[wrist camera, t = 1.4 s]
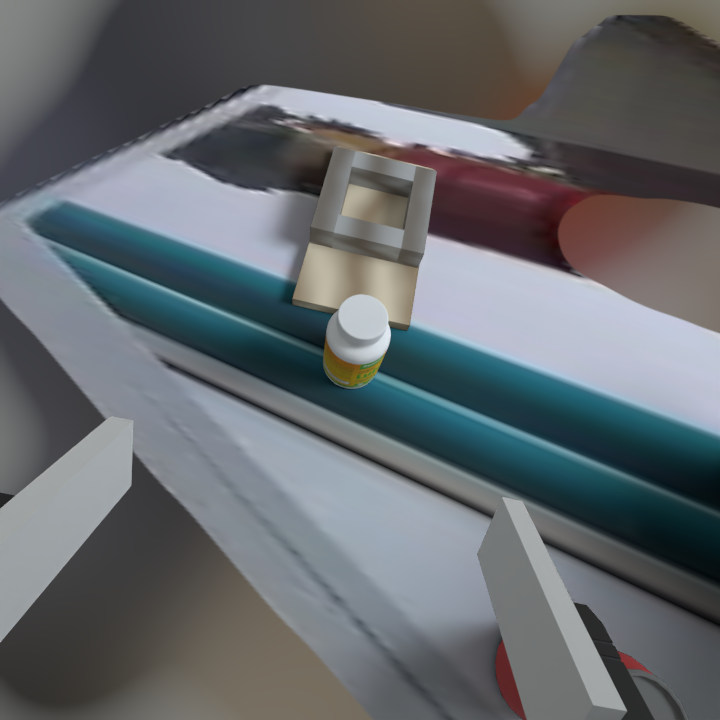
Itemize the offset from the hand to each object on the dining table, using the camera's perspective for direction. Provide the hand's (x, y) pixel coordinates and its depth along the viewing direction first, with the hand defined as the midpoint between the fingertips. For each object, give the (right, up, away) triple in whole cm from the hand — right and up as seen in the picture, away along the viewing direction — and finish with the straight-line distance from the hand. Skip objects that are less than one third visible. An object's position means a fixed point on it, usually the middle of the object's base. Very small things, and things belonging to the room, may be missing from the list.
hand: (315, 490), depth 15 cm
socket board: (+3, +19, +33) cm, 38 cm away
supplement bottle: (+1, +4, +26) cm, 27 cm away
